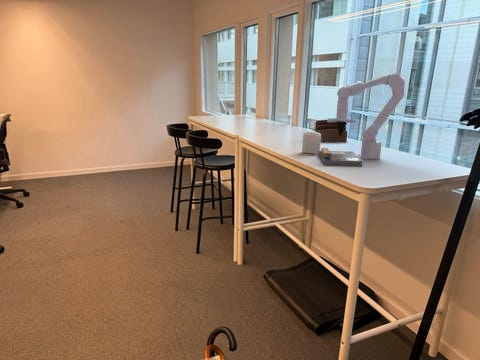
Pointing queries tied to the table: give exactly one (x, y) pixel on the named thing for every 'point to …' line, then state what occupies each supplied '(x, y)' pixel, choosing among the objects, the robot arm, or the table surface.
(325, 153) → the tan grey headed bar
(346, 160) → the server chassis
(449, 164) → the table surface
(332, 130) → the letter holder
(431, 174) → the table surface
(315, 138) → the photo printer
